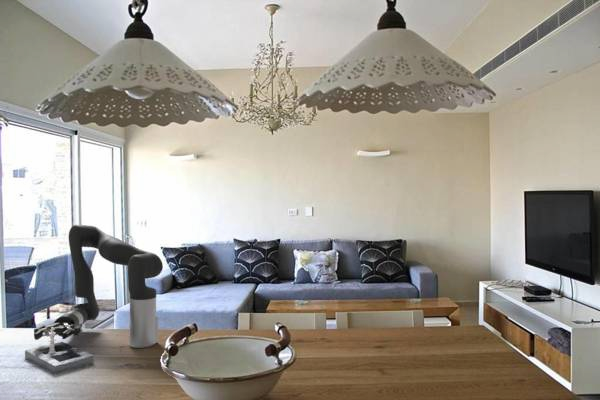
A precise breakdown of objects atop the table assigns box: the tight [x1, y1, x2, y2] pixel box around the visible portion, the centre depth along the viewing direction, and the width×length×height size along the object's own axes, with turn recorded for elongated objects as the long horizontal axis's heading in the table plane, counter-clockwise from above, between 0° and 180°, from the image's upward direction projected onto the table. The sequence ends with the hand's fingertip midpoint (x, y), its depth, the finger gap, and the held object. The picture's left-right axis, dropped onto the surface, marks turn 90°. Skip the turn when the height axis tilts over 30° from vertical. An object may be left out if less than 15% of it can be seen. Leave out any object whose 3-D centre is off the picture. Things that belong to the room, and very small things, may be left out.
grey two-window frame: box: [24, 341, 95, 375], centre depth 145 cm, size 12×22×2 cm, turn 52°
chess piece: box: [45, 327, 56, 355], centre depth 148 cm, size 5×5×10 cm
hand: (49, 336), depth 146 cm, fingers open, 8 cm apart
